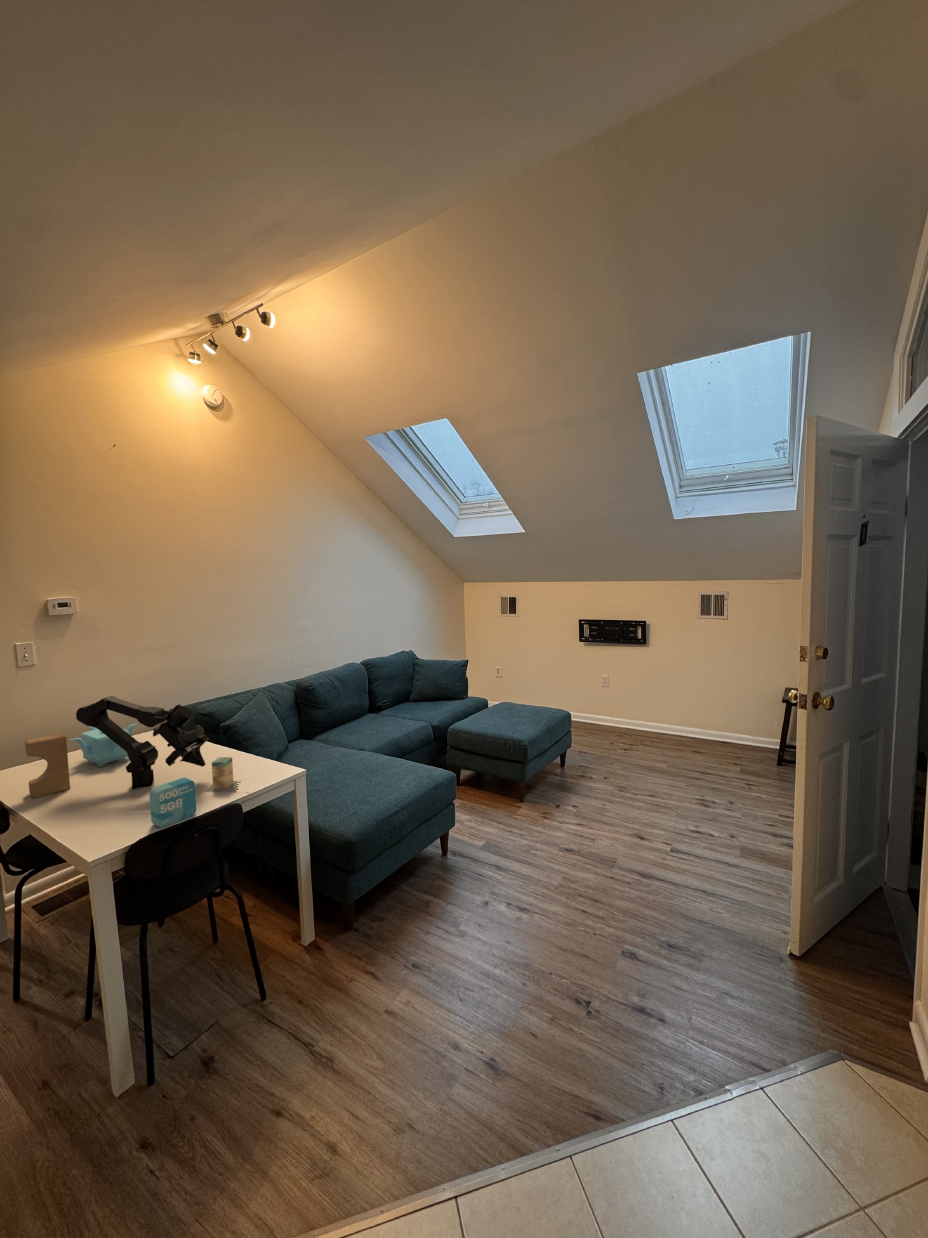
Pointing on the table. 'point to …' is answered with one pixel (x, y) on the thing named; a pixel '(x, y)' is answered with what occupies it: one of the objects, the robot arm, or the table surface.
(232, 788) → the slate mat
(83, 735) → the teakettle
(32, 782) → the decorative block
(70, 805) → the table surface
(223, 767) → the maple block
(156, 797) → the data package
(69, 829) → the table surface
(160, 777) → the table surface
